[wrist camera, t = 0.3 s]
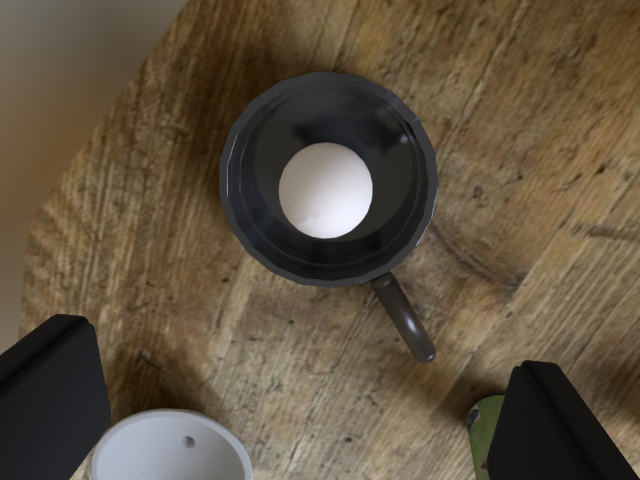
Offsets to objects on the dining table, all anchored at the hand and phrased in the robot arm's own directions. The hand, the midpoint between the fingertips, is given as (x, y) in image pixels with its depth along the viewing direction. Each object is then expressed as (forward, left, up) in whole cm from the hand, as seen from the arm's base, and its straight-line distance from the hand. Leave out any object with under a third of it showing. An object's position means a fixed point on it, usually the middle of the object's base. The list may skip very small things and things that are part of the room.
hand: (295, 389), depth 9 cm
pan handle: (+11, -1, -20) cm, 23 cm away
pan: (0, -1, -22) cm, 22 cm away
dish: (+16, -27, -22) cm, 38 cm away
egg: (0, -1, -22) cm, 22 cm away
